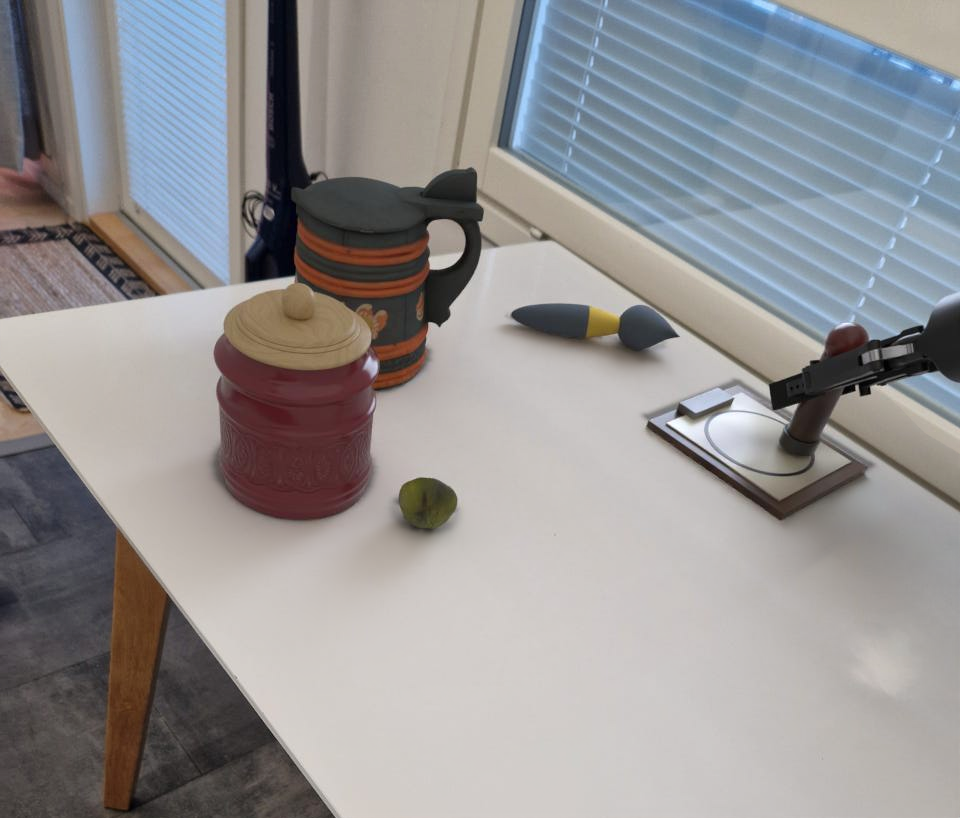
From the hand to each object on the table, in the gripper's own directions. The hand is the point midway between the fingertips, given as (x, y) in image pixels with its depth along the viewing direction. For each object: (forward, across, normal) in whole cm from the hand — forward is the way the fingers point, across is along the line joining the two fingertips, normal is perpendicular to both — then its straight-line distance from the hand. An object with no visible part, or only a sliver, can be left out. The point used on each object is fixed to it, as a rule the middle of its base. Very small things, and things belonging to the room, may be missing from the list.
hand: (788, 395), depth 94 cm
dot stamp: (0, 0, -5) cm, 5 cm away
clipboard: (+3, -3, -5) cm, 6 cm away
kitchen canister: (+7, -52, -1) cm, 52 cm away
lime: (+1, -43, -7) cm, 43 cm away
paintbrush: (+20, -10, +12) cm, 25 cm away
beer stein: (+20, -37, +12) cm, 44 cm away
